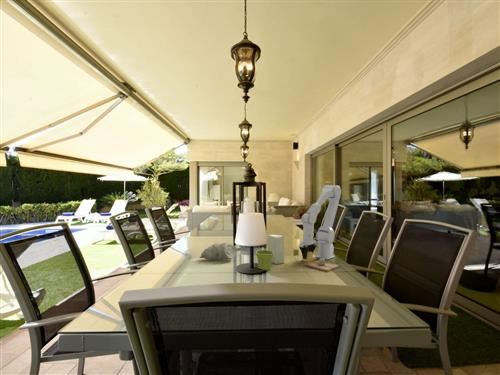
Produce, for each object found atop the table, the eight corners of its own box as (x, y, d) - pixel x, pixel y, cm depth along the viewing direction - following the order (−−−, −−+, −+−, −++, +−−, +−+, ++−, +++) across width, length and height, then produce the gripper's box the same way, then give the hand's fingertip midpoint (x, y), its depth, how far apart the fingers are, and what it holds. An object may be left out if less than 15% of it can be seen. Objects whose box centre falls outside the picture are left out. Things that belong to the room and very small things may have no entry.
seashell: (198, 261, 155) (198, 243, 155) (213, 255, 168) (214, 239, 168) (223, 265, 147) (223, 246, 147) (237, 259, 160) (237, 242, 160)
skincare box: (284, 263, 155) (285, 236, 155) (275, 264, 152) (276, 237, 152) (274, 259, 162) (275, 233, 162) (266, 260, 159) (267, 234, 159)
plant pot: (268, 273, 137) (268, 255, 137) (251, 269, 142) (251, 252, 142) (276, 268, 144) (277, 251, 144) (260, 265, 149) (261, 249, 149)
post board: (316, 261, 160) (316, 254, 160) (339, 267, 150) (339, 259, 150) (303, 266, 151) (303, 258, 151) (327, 272, 141) (327, 264, 141)
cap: (306, 258, 166) (306, 249, 166) (314, 260, 163) (314, 251, 163) (300, 260, 162) (301, 250, 162) (308, 262, 159) (309, 252, 159)
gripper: (309, 232, 170) (308, 254, 170) (295, 234, 160) (294, 258, 160) (319, 233, 166) (318, 256, 166) (305, 236, 155) (305, 261, 155)
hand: (307, 258), depth 162 cm, fingers closed on cap, 5 cm apart
